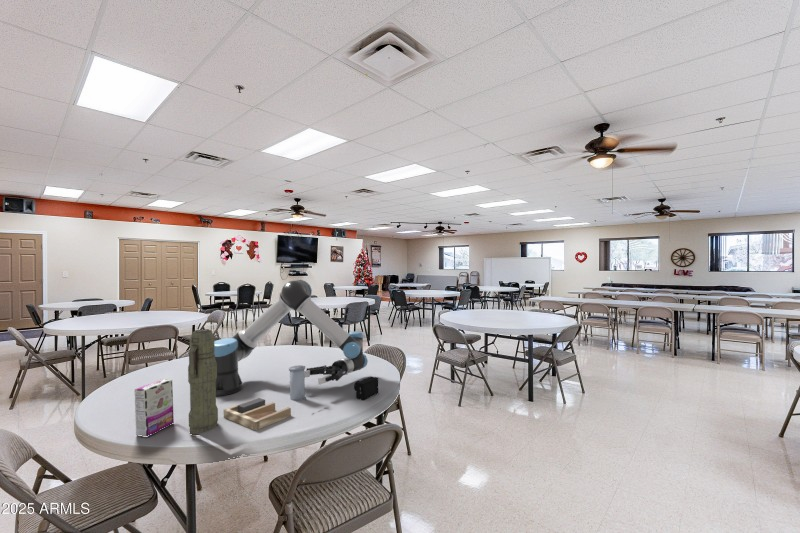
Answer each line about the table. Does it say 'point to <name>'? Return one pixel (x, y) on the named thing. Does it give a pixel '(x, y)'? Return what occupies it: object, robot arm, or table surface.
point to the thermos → (202, 382)
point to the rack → (257, 416)
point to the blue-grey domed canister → (297, 382)
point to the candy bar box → (154, 407)
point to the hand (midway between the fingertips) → (308, 378)
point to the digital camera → (366, 388)
